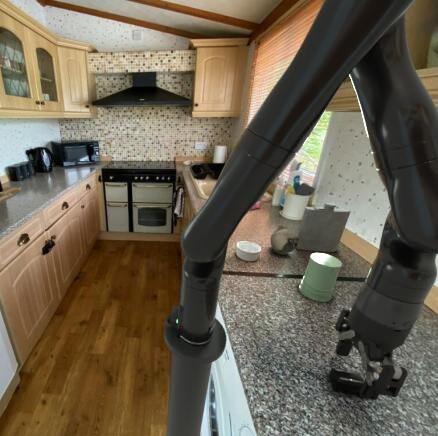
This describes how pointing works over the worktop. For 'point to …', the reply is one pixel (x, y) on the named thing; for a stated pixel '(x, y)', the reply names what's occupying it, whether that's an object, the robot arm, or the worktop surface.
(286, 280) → the worktop surface
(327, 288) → the cup stack
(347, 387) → the binder clip
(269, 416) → the worktop surface
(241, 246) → the ramekin
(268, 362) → the worktop surface
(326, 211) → the hip flask
